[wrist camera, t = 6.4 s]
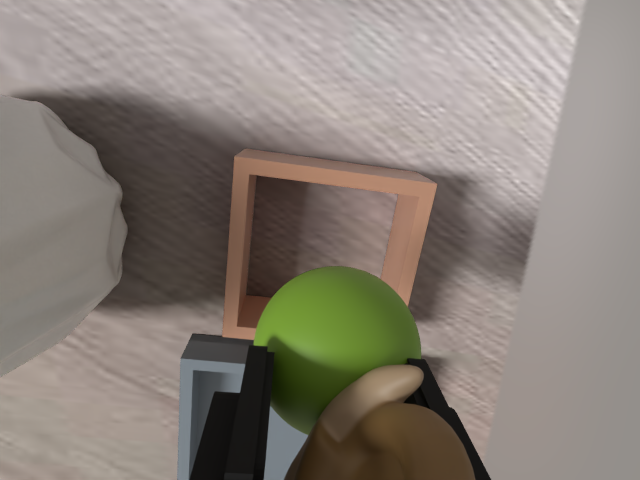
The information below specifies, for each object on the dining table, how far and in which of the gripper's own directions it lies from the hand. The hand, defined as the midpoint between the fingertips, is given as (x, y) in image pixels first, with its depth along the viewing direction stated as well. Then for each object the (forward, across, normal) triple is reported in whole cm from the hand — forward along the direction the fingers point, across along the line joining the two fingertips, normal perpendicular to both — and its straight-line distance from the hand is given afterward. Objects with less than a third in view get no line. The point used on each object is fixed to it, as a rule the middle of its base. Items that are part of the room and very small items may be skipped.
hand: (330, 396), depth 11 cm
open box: (+15, -1, 0) cm, 15 cm away
